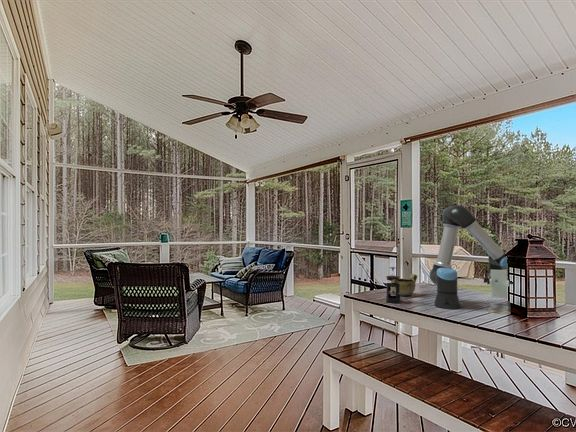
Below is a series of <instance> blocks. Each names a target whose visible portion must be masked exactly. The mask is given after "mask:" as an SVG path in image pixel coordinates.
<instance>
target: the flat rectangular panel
mask: <svg viewBox="0 0 576 432" xmlns="http://www.w3.org/2000/svg"><path fill="white" fill-rule="evenodd" d="M507 270H508V269H502V270H491V281H492V285H490V287H491V288H490V291H491V292H490V293H491V295H490V296H491V298H497V299H508V296H509V295H508V286H507V278H508V274H507V273H508V271H507Z"/></svg>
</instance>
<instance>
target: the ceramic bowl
mask: <svg viewBox="0 0 576 432" xmlns="http://www.w3.org/2000/svg"><path fill="white" fill-rule="evenodd" d="M389 276H395V274H390V275H389ZM417 279H418V275H417V274H414V273H412V274H410V276H409V278H399V280H398V279H393V280H391V281H390V283H399V284H400V297H402V296H403V297H408V296H410V295H412V294H413V293H414V292H415V290H416V282H417ZM391 289H392V291H393V290H394V291H396V287H391Z"/></svg>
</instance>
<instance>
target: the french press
mask: <svg viewBox="0 0 576 432" xmlns="http://www.w3.org/2000/svg"><path fill="white" fill-rule="evenodd" d="M389 269H391V271H395V269H396V266H395V267H394V266H391V267H389ZM385 278H386V280H387V281H390V282H387V283H385V286H386V299H385V303H388V304H394V305H395V304H401V302H402V301H401V295H400V284H399V283H391V280H393V279H398V280H399V279H401V276H399V275H394V276H390V275H386V277H385ZM392 287H396V291H394V290H393V289H392ZM391 289H392V290H391Z"/></svg>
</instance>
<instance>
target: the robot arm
mask: <svg viewBox="0 0 576 432" xmlns="http://www.w3.org/2000/svg"><path fill="white" fill-rule="evenodd" d="M442 226H443V231H442V234H441V235H442V236H441V241H440V245H439V250H438V254H437V259H436V262H434V263H433V266H432V268H431V270H430V271H429V280H431V282H432V283H433V284H434V285H436V292H437V294H436V296H435V300H434V306H435V307H436V308H438V309H439V308H440V309H447V310H457V309H458V310H459V309H461V307H462V303H461V301H460V298H459V295H458V272H457V270H456V269H454V268H453V267H452V265H451V263H452V259H453V254H454V250H455V245H456V241H457V236H458V231H459V230H460V229H463V230H466V231H467V232H468V233H469V234H470V235H471V236H472V237H473V239H474V240H475V241H476V242H477V243H478V244H479V246H480V247H482V249H483V250H484V252H486V253H487V255H488V257H487V258H488V276H484V278H483V283H484V284H486V283H487V285H489V286H491V285H492V281H491V270H509V269H508V266H507V257H506V256H505V254H506V253H505V251H503V250H502V248H500V246H499V245H498V244H497V243H496V242H495V241H494V239H493V238H492V237H491V236H490V235H489V233H488V232H486V231H485V230H484V228H483V227H482V226H481V225H480V223H478V222H477V218H476V216H474V214H473V213H472V212H471V211H470V210H469V209H468V208H467V207H465V206H464V205H462V204H461V205H460V204H459V205H456V204H455V205H450V206H448V207H446V208H445V209H444V210H443V212H442ZM508 278H509V277H507V287H510V285H514V284H513V282H512V281H510V279H508Z"/></svg>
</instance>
